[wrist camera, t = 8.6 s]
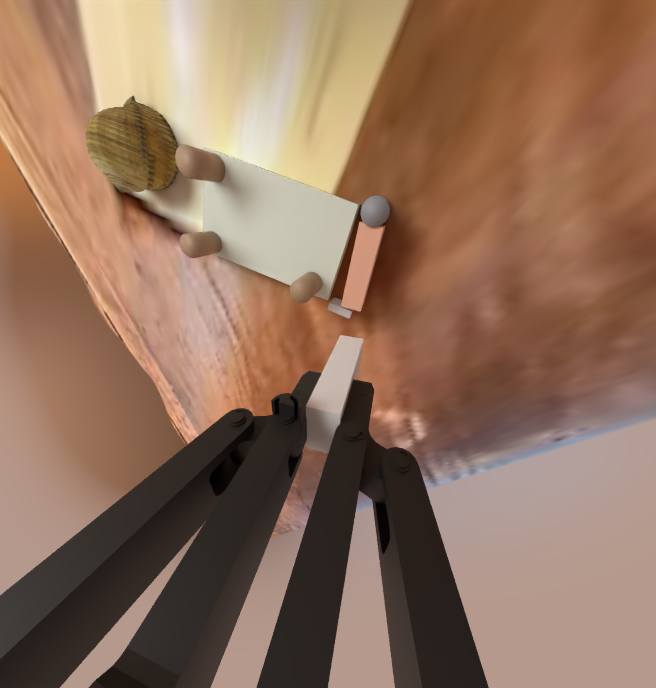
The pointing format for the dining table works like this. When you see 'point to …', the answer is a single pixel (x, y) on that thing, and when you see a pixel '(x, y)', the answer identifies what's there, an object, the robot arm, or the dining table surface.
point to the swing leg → (365, 251)
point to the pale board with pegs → (269, 224)
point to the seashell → (133, 147)
